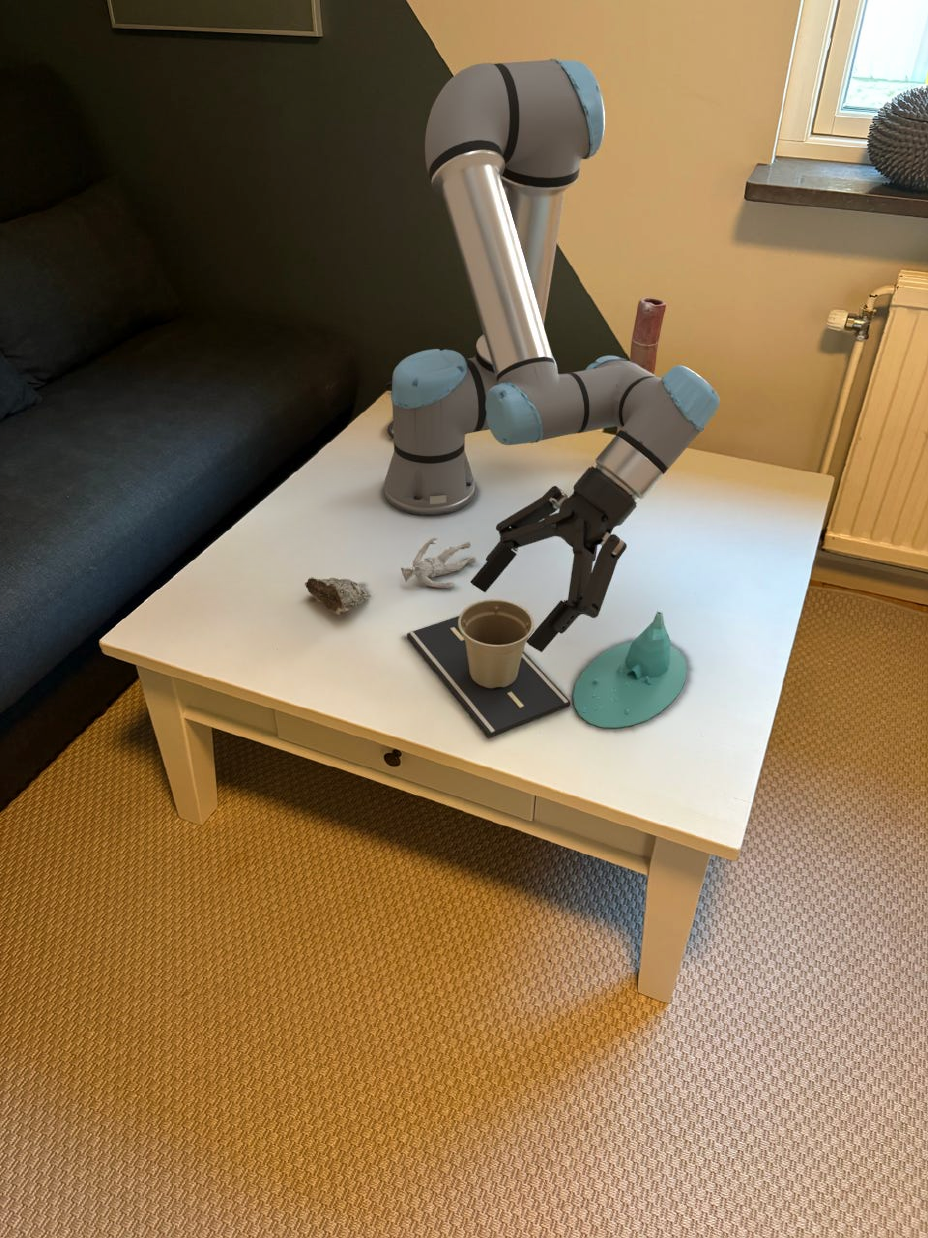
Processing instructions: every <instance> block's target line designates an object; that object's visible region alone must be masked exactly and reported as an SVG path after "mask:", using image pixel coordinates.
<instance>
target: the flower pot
mask: <svg viewBox="0 0 928 1238" xmlns="http://www.w3.org/2000/svg"><path fill="white" fill-rule="evenodd" d="M458 616H459V619H458V627H459V630H460V632H461V633H462V635H463V638H464V640H465V643H466V649H467V656H468V662H469V671H470V675H471V677H472V679H473V680H474V681H475V682H476V683H477V684H479V685H481V686H483V687H487V688H495V687H506V686H508V685H510V684H511V683H513V682H514V681H515V679H516V677H517V675H518V670H519V665H520V661H521V658H522V654H523V652H524V649H525V646H526V644H527V642H526V641H527V640H528V638H529V637H530V636H531V635H532V634H533V632H534V628H535V621H534V618H533V616H532V614H531V613H530V612H529V610H527V609H526V608H525V607H523V606H522V605H520V604H517V602H516V603H515V602H513V601H509V600H506V599H499V598H498V599H496V598H495V599H494V598H493V599H490V598H489V599H483V600H478V601H475V602H473V603H471V604H469V605H468V606H466V607H465V608H464V609H463V610H462V611H461V613H460V615H458Z"/></svg>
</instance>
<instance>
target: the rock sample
mask: <svg viewBox="0 0 928 1238" xmlns="http://www.w3.org/2000/svg"><path fill="white" fill-rule="evenodd" d="M304 586H305V588H306V589H307V591H308V593H309V594H310V595H312V596H313V597H314V598H315V599H316V600H317V601H318V602H320V603H322V605H324V606H325V608H326V609H327V610H329V611H332V613H334V614H336V615H339V616H340V615H343V614H344V613H345V612H347V611H349V610H352V609H356V607H358V606H359V605H360V604H361V603H362V602H363V603H365V602H366V601H367V600H368V599H369V598H370V597H371V593H369V592H368V591H366V590H365V588H363V587H362V586H361V584H360V583H358V582H356V581H353V580H351V579H349V578H341V579H339V578H335V577H330V578H322V579H321V578H315V577H313V576H310V577H309V578H308V579H307V581H305V582H304Z"/></svg>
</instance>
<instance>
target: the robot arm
mask: <svg viewBox="0 0 928 1238" xmlns="http://www.w3.org/2000/svg"><path fill="white" fill-rule="evenodd" d="M605 126H606V111H605V104H604V99H603V95H602V92H601V89H600V84H599V82H598V81H597V78H596V76H595V74H594V73H593V72H592V70H591V69H590V67H589V66H587V65H586V64H584V63H583V62H581V61H579V60H567V59H565V60H560V59H557V58H549V59H543V60H527V61H511V62H498V63H497V62H496V63H492V62H482V63H481V62H480V63H477V64H472V65H470V66H468V67H464V69H461V70H460V71H458V72H457V73H456V74H454V75H453V76H452V77H451V78H450V79H449V80H448V81H447V82H446V84H445V85H444V86H443V88H442V89H441V90H440V92H439V93H438V95H437V97H436V98H435V100H434V103H433V105H432V107H431V110H430V114H429V117H428V121H427V124H426V130H425V139H424V158H425V165H426V170H427V173H428V178H429V181H430V183H431V187H432V188H431V189H432V190H433V192H434V194H436V195H438V196H439V197H441V198H443V200H444V203H445V207H446V210H447V214H448V217H449V221H450V224H451V227H452V232H453V234H454V238H455V241H456V245H457V248H458V252H459V254H460V255H459V256H460V258H461V262H462V265H463V270H464V272H465V276H466V278H467V282H468V285H469V289H470V292H471V296H472V300H473V303H474V306H475V309H476V313H477V317H478V320H479V323H480V326H481V330H482V334H481V336H480V337H479V338H478V339H477V341H476V346H475V354H474V357H470V358H465V357H464V356H463V355H462V354H461V353H460V352H457V351H455V350H451V349H446V348H445V349H443V350H440V349H439V348H433V349H425V350H422V351H419V352H416V353H413V354H411V355H408V356H406V357H404V359H402V360H401V361H399V363H398V364H397V366H396V367H394V370H393V372H392V380H391V381H388V382H387V383H386V384H385V387H386V388H389V387H391V391H390V399H391V404H392V405H391V406H392V421H391V422H390V423H389V424H388V426H387V430H386V431H387V434H388V436H389V437H390V438H391V439H393V453H392V456H391V460H390V462H389V467H388V469H387V472H386V475H385V477H384V484H383V485H384V496H385V498H386V500H387V501H388V503H389V504H390V505H391V506H393V507H395V508H396V509H398V510H401V511H403V512H406V513H410V514H414V515H420V516H438V515H445V514H449V513H453V512H456V511H459V510H461V509H463V508H464V507H466V506H467V505H469V504H470V503H471V502H472V500H473V499H474V497H475V491H476V490H475V489H476V487H475V486H476V484H475V478H474V474H473V471H472V469H471V465H470V463H469V460H468V457H467V453H466V450H465V446H466V445H465V443H466V435H467V434H472V433H478V432H484V431H490V434H491V435H492V437H493V438H494V439H495V440H496V441H497V442H498V443H499V444H502V445H504V446H514V445H523V444H535V443H539V442H540V441H546V440H550V439H555V438H559V437H564V436H569V435H574V434H582V433H588V432H592V431H597V430H603V429H607V428H614V427H617V428H618V427H621V428H622V429H621V430H620V431H619V432H618V433H617V432H616V433H617V434H616V433H615V434H616V435H615V436H614V437H613V438H612V439H611V441H610V442H608V444H607V445H606V446H605V447H604V448H603V450H602V451H601V452H600V453H599V454H598V456H597V457H596V458H594V459H595V463H596V466H595V467H594V466H591V467H588V468H587V469H586V471H584V473H583V474H582V475H581V476H580V477H579V478H578V480H577V481H576V482H575V484H574V486H573V492H572V494H571V495H570V496H568V494H566V493H565V492H564V491H563V490H562V489H561V488H559V487H558V486H557V485H553V486H551V487H550V488H549V489H548V491H546V493H544V494H543V495H542V496H541V497H540V498H538V499H536V500H535V501H533V502H531V503H529V504H528V505H526V506H525V507H523V508H521V509H520V510H518V511H516V512H514V513H512V515H510V516H508V517H507V518H505V519H503V520H501V521H500V522H498V523H497V524H496V526H495V530H496V531H497V532H498V534H499V541H498V542H497V544H496V545H495V546H494V548H493V549H492V550H491V551H490V552H489V553H488V554H487V556H486V558H485V563H484V564H483V565H482V567H481V568H480V569H479V570H478V571H477V573H476V574H475V575H474V576H473V578H471V580H470V581H469V582H470V584H471V585H472V586H474V587H475V588H477V589H479V591H481V592H483V593H486V592H488V590H489V589H490V587H492V585H493V584H494V583H495V582H496V581H497V579H498V578H499V577H500V575H501V574H503V572H504V571H505V570H506V568H507V567H508V566H509V565H510V563H511V562H512V561H513V560H515V557H517V552H518V548H521V547H525V546H528V545H531V544H534V543H537V542H540V541H543V540H547V539H549V538H552V537H558V538H561V539H562V540H563V541H565V543H566V544H567V545H568V546H570V547H571V548H572V553H573V558H572V559H573V561H572V567H571V573H570V581H569V589H568V594H567V595H568V596H567V599H564V600H562V599H560V601H559V602H558V603H557V604H556V605H555V607H554V608H552V610H551V611H550V613H548V615H547V616H546V617H545V618H544V619H543V621H542V622H541V623H540V624H539V625H538V627H537V628H536V629H535V630H533V632H532V633H531V635H530V636H529V637H528V640H527V641H526V644H528V645H529V646H530V647H532V648H533V649H535V650H536V651H538V652H540V653H543V652H544V650H545V649H546V648H547V647H548V646H549V645H550V643H551V642H552V641H553V640H554V639H555V637H557V635H559V634H561V635H562V634H564V633H565V632H566V631H567V630H568V629H569V628H570V627H571V625H572V624H573V623H574V622H575V621H576V620H577V619H578V617H580V616H581V615H584V616H588V617H590V618H592V619H596V618H597V617H598V616H599V615H600V612H601V609H602V607H603V604H604V600H605V598H606V595H607V592H608V589H609V587H610V583H611V580H612V578H613V574H614V572H615V569H616V566H617V564H618V561H619V559H620V558H621V557H622V556H623V554H624V552H625V551H626V549H627V548H628V546H627V545H628V544H627V542H625V541H624V540H622V538H620V537H619V536H618V535H616V534H615V533H612V532H613V530H614V529H615V528H616V527H618V526H619V527H621V526H622V525H623V524H624V522H625V521H626V520H627V519H628V518H629V517H630V515H632V513H633V512H634V511H635V510H636V508H637V504H638V503H637V501H636V500H637V499H639V500H643V499H644V498H646V496H647V495H648V494H649V492H650V491H651V490H652V489H653V488H654V486H656V484H657V483H658V482H659V480H661V478H662V477H663V476H664V475H665V473H666V472H667V471H668V470H669V469H670V468H671V466H673V464H674V463H675V462H676V461H677V460H678V458H680V456H681V455H682V454H683V453H684V451H685V450H686V449H687V448H688V447H689V446H690V445H691V444H692V442H693V441H694V440H695V439H696V438H697V436H698V435H700V433H702V432H703V431H704V430H705V427H706V426H707V425H708V424H709V422H710V421H711V419H712V418H713V416H714V415H715V414H716V412H717V411H718V409H719V408H720V405H721V399H720V396H719V394H718V392H717V391H716V390H715V389H714V387H712V386H711V384H710V383H708V381H706V380H705V379H704V378H703V377H702V376H700V375H699V374H697V372H695V371H693V370H692V369H691V368H689V367H687V366H684V365H682V364H681V365H680V364H679V365H674V366H672V367H671V368H670V369H669V370H668V371H667V372H666V373H665V374H663V375H662V377H659V376H658V375H655V373H654V374H652V373H650V372H648V371H647V370H645V369H643V368H641V367H640V366H638V365H637V364H635V363H633V362H632V361H630V360H628V359H626V358H622V357H619V356H618V355H617V356H616V355H604V356H601V357H599V358H597V359H596V360H595V361H594V362H592V363H590V364H589V365H588V366H586V368H585V370H580V371H574V372H572V371H571V372H565V373H559V371H558V365H557V362H556V360H555V358H554V356H553V353H552V350H551V346H550V343H549V340H548V336H547V333H546V330H545V321H546V320H545V319H546V313H547V307H548V301H549V294H550V288H551V283H552V277H553V270H554V264H555V263H554V262H555V258H556V257H555V255H556V250H557V244H558V237H559V232H560V225H561V218H562V213H563V205H564V200H565V199H564V197H565V193H566V190H568V189H569V188H570V187H573V185H575V183H576V182H578V179H579V173H580V168H581V165H582V164H581V163H582V160H589V159H590V158H591V157H593V156H595V155H596V154H597V153H598V151H599V150H600V148H601V147H602V143H603V140H604V137H605V128H606V127H605ZM392 429H393V431H392ZM556 511H558V512H556ZM598 546H601V548H600V550H599V551H598ZM593 563H594V565H593Z"/></svg>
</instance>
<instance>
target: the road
mask: <svg viewBox="0 0 928 1238" xmlns="http://www.w3.org/2000/svg"><path fill="white" fill-rule="evenodd" d="M459 616H460V615H458V616H457V615H456V616H454V617H451V618H449V619H445V620H442V621H439V622H436V623H434V624H431V625H427V626H424V627H422V628H418V629H416V630H410V631H409V632H407V633H406V638H407V640H408V641H409V642H410V643H411V645H412V646H413V647H414V649H416V650H417V652H418V653H419V655H420V656H421V657H422V658H423V660H425V662H426V663H427V664H428V666H429V667H430V668H431V669H432V671H434V673H435V674H436V675H437V676H438V678H440V680H441V681H442V683H443V684H444V685H445V687H447V689H448V690H449V691H450V693H452V695H453V696H454V698H455V699H456V700H457V701H458V703H460V705H461V706H462V707H463V708H464V710H465V711H466V712H467V714H468V715H469V716H470V717H471V719H472V720H473V721H474V722H475V723H476V724H477V726H478V727H479V728H480V729H481V731H482V732H483V733H484V734H485V736H486V737H487V738H488V739H490V738H492V737H495V736H497V735H500V734H502V733H503V734H504V733H505V732H507V731H510V730H512V729H515V728H518V727H520V726H522V725H525V724H528V723H530V722H532V721H535V720H538V719H540V718H543V717H544V716H548V715H551V714H552V713H555V712H557V711H560V710H563V709H565V708H567V707H570V706H571V700H570V699H569V698H568V697H567V696H566V695H565V693H564V692H562V691H561V689H560V688H559V687H558V686H557V685H556V684H555V683H554V682H553V681H552V680H551V679H550V678H549V677H548V676H547V674H546V673H544V672H543V670H541V668H540V667H539V666H538V665H537V664H536V663H535V662H534V661H533V660H532V659H531V657H529V656H528V654H527V653H526V652H525V651H523V654H522V658H521V661H520V665H519V670H518V675H517V677H516V679H515V681H514V682H513V683H511V684H510V685H508V686H506V687H495V688H487V687H483V686H481V685H479V684H477V683H476V682H475V681H474V680H473V679H472V677H471V675H470V671H469V662H468V656H467V649H466V643H465V640H464V638H463V635H462V633H461V632H460V630H459V627H458V619H459Z"/></svg>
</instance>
